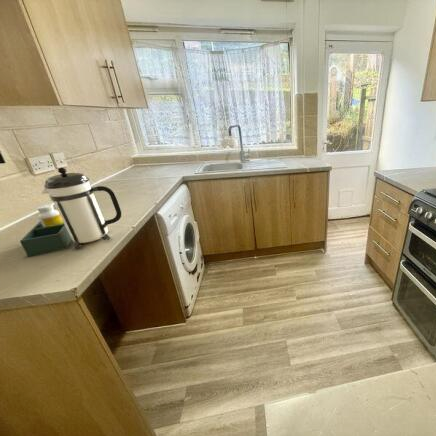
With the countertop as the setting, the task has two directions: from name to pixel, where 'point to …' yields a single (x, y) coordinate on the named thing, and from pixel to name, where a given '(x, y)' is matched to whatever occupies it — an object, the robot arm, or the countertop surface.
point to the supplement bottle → (49, 216)
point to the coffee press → (80, 206)
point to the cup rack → (45, 239)
